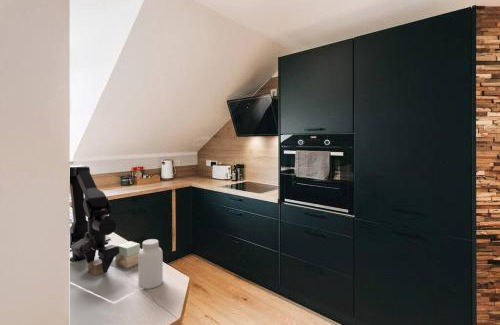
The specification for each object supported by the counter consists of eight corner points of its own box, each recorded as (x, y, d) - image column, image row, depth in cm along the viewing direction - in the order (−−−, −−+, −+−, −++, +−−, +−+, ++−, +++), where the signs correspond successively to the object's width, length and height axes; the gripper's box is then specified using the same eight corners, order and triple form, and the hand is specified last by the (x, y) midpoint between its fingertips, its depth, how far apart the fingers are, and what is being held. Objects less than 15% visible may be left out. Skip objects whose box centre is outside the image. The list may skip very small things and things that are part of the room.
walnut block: (88, 274, 102) (88, 262, 102) (100, 269, 106) (99, 258, 106) (95, 277, 100) (95, 265, 100) (107, 272, 104) (106, 261, 103)
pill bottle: (155, 290, 91) (154, 246, 90) (133, 287, 93) (132, 244, 92) (167, 279, 99) (166, 238, 98) (146, 277, 101) (146, 236, 100)
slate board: (104, 265, 110) (104, 263, 110) (126, 256, 119) (126, 255, 119) (125, 272, 103) (125, 271, 103) (147, 263, 112) (147, 261, 112)
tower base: (115, 264, 110) (115, 254, 109) (130, 257, 116) (130, 248, 115) (126, 268, 106) (126, 258, 106) (141, 261, 112) (141, 252, 112)
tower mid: (117, 254, 110) (117, 245, 109) (130, 249, 115) (130, 241, 115) (126, 257, 107) (126, 248, 106) (139, 252, 112) (139, 243, 112)
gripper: (59, 230, 100) (61, 272, 101) (89, 239, 90) (90, 285, 91) (90, 223, 109) (91, 261, 110) (120, 230, 100) (121, 272, 101)
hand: (97, 269), depth 103 cm, fingers open, 9 cm apart
